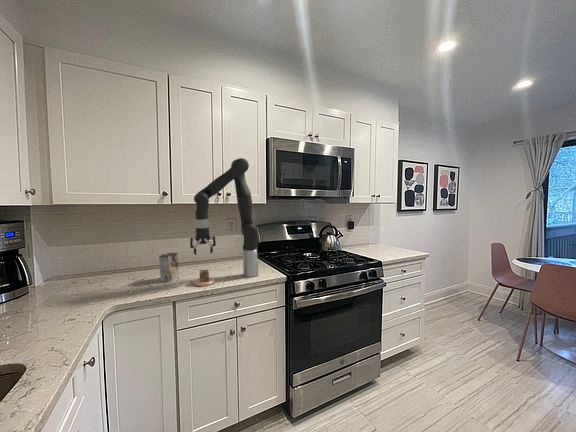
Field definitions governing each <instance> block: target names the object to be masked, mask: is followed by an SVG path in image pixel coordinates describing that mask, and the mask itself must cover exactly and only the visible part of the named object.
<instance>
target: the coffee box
mask: <svg viewBox="0 0 576 432" xmlns="http://www.w3.org/2000/svg"><path fill="white" fill-rule="evenodd" d="M158 257H159V272H160V273H159V275H160V282H165V283H166V282H167V283H170V282H172V281H174V280H176V279H178V278H179V260H178V259H179V258H178V253H177V252H167V253H164V254H161V255H159V256H158Z"/></svg>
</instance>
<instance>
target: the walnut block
mask: <svg viewBox="0 0 576 432" xmlns="http://www.w3.org/2000/svg"><path fill="white" fill-rule="evenodd" d="M209 275H210V273H209V269H200V270H199V278H200V282H209V278H210V276H209Z"/></svg>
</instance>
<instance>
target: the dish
mask: <svg viewBox="0 0 576 432" xmlns="http://www.w3.org/2000/svg"><path fill="white" fill-rule="evenodd" d="M215 283H216V281H215V278H213V277H209V282H200V277H199V278H196V279H194V280H193V285H194V287H201V288H203V287H205V288H206V287H208V286H212V285H214V284H215Z"/></svg>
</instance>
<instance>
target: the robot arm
mask: <svg viewBox="0 0 576 432" xmlns="http://www.w3.org/2000/svg"><path fill="white" fill-rule="evenodd" d="M249 167H250V165H249V162H248V160H247V159H245V158H242V157H239V158H236V159H234V160H233V161H232V162H231V165H230V168H228V170H226V171H225V172H224V173H222V174H221V175H219V176H217V178H214V180H212V181H211V182H210V183H209V184H207V186H205V187H204V188H203V189H201V190H199V191H198V192H197V193H196V194H195V195H194V196H193V202H195V204H196V210H195V223H194V224H195V226H194V227H195V237H193V236H191V237H190V239H189V240H190V241H189V242H190V243H189V247H190V249H193V254H194V256H197V247H198V246H199V245H208V246H209V252H210V253H209V254H212V253H214V247H216V245H217V244H216V236H215V235H212V236H210V221H209V207H210V206H209V205H210V200H209V199H210V198H212V197H214V196H216V195H217V194H218V193H220V192H221V191H222V190H223V189H224V188H225V187H226V186H228V184H230V183H231V182H233V181H234V186H235V187H234V188H235V193H236V194H235V195H236V201H237V207H238V212H239V215H240V227H241V235H242V236H243V245H242V267H243V268H242V270H243V271H242V274H243V276H244V277H246V278H253V277H257V276H259V260H258V244H259V230H258V228H257V226H255V225H254V222H253V215H252V212H253V200H252V194H251V193H252V192H251V190H250V188H249V186H248V184H247V181H246V175H245V174H246V172H248V170H249ZM210 240H212V243H211V242H210ZM194 241H196V242H195V244H194V245H193V243H194Z"/></svg>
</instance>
